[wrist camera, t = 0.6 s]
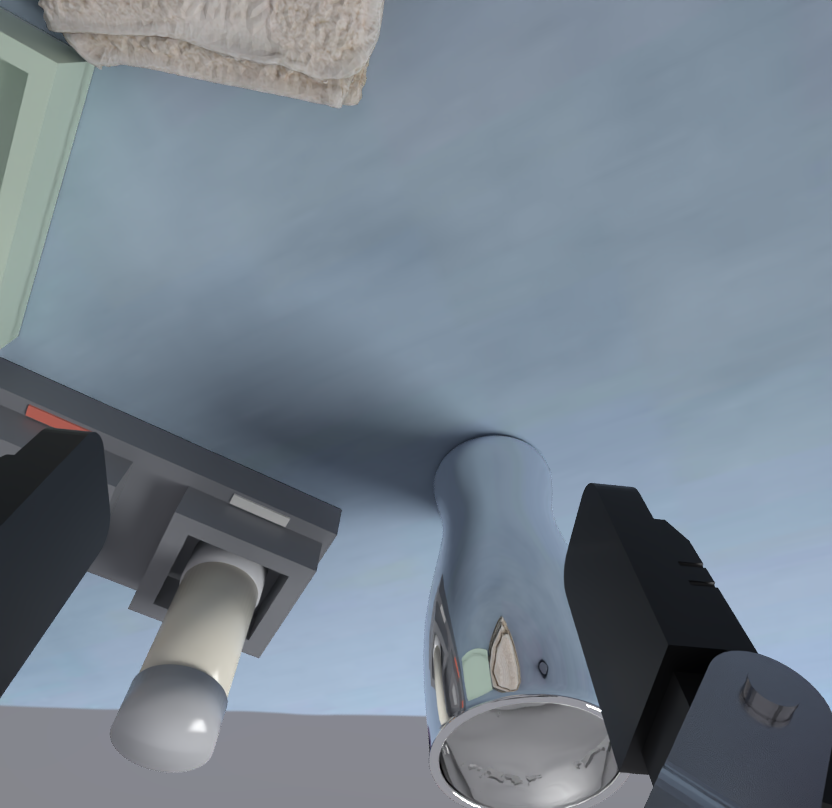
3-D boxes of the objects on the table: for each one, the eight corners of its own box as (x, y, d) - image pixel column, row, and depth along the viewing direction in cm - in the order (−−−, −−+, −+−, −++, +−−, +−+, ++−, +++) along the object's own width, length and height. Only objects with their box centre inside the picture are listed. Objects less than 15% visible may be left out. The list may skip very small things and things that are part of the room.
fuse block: (0, 357, 31) (-55, 398, 27) (341, 509, 35) (332, 562, 31) (-37, 490, 35) (-89, 540, 31) (274, 613, 39) (259, 670, 35)
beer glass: (397, 484, 34) (377, 764, 21) (494, 400, 31) (541, 658, 18) (489, 555, 36) (523, 848, 23) (587, 482, 34) (688, 764, 21)
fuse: (208, 521, 33) (127, 695, 24) (281, 552, 34) (229, 730, 25) (181, 572, 34) (97, 752, 26) (251, 600, 35) (193, 783, 27)
